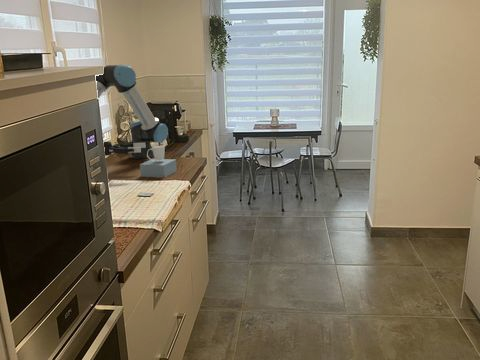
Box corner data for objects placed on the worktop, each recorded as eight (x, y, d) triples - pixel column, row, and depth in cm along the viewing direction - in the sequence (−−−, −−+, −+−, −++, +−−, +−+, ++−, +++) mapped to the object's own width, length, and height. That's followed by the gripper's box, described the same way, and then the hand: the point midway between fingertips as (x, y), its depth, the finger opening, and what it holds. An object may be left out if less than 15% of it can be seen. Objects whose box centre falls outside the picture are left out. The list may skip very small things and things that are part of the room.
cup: (165, 162, 241) (163, 146, 239) (146, 163, 241) (144, 147, 240) (167, 160, 248) (166, 145, 246) (149, 161, 248) (147, 146, 246)
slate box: (154, 170, 255) (153, 158, 253) (176, 171, 251) (176, 159, 249) (140, 177, 241) (139, 164, 239) (164, 178, 237) (163, 165, 235)
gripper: (110, 151, 256) (147, 150, 256) (97, 160, 232) (138, 158, 232) (108, 138, 254) (146, 136, 254) (95, 145, 230) (137, 144, 230)
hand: (143, 147), depth 243 cm, fingers open, 13 cm apart
